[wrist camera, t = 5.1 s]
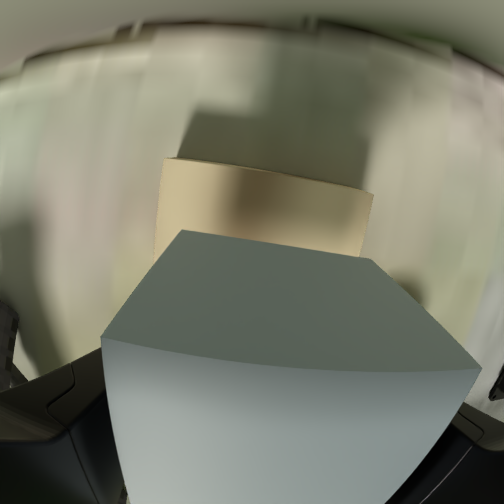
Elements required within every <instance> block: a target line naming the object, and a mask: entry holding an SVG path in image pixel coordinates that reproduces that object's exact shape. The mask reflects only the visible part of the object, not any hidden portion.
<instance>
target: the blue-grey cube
mask: <svg viewBox="0 0 504 504" xmlns="http://www.w3.org/2000/svg"><path fill="white" fill-rule="evenodd" d="M101 348H102V358H103V368H104V376H105V384H106V391H107V398H108V405H109V411H110V417H111V422H112V428H113V433H114V438H115V443H116V448H117V452H118V457H119V461H120V465H121V470H122V474H123V478H124V481H125V485H126V489H127V493H128V496H129V500H130V503H131V504H384V503H385V502H386V501H387V500H388V499H389V498H390V497H391V496H392V495H393V494H394V493H395V492H396V491H397V490H398V488H399V487H400V486H401V485H402V484H403V483H404V482H405V481H406V479H407V478H408V477H409V476H410V475H411V474H412V472H413V471H414V470H415V469H416V468H417V466H418V465H419V464H420V463H421V461H422V460H423V459H424V458H425V456H426V455H427V454H428V452H429V451H430V450H431V448H432V447H433V446H434V444H435V443H436V442H437V440H438V439H439V437H440V436H441V435H442V433H443V432H444V430H445V429H446V427H447V426H448V425H449V423H450V422H451V420H452V419H453V417H454V416H455V414H456V412H457V411H458V409H459V408H460V406H461V405H462V403H463V401H464V400H465V398H466V396H467V395H468V393H469V391H470V390H471V388H472V386H473V384H474V383H475V381H476V379H477V377H478V375H479V374H480V372H481V370H482V367H481V366H480V365H479V364H478V363H477V362H476V361H475V360H474V359H473V357H472V356H471V355H470V354H469V353H468V352H467V351H466V350H465V349H464V348H463V347H462V346H461V345H460V344H459V343H458V342H457V341H456V340H455V339H454V338H453V337H452V336H451V335H450V334H449V333H448V332H447V331H446V330H445V329H444V328H443V327H442V326H441V325H440V324H439V323H438V322H437V321H436V320H435V319H434V318H433V317H432V316H431V315H430V314H429V313H428V312H427V311H426V310H425V309H424V308H423V307H422V306H421V305H420V304H419V303H418V302H417V301H416V300H415V299H414V298H413V297H411V296H410V295H409V294H408V293H407V292H406V291H405V290H404V289H403V288H402V287H401V286H400V285H399V284H398V283H396V282H395V281H394V280H393V279H392V278H391V277H390V276H389V275H388V274H387V273H386V272H385V271H383V270H382V269H381V268H380V267H379V266H378V265H377V264H376V263H375V262H373V261H372V260H371V259H367V258H361V257H355V256H349V255H343V254H337V253H331V252H324V251H318V250H312V249H306V248H299V247H293V246H287V245H281V244H274V243H268V242H261V241H255V240H249V239H242V238H236V237H229V236H222V235H216V234H209V233H203V232H196V231H189V230H183V229H181V231H180V232H179V233H178V234H177V236H176V237H175V238H174V239H173V241H172V242H171V243H170V244H169V246H168V247H167V248H166V249H165V251H164V252H163V253H162V255H161V256H160V257H159V258H158V260H157V261H156V262H155V264H154V265H153V266H152V267H151V269H150V270H149V271H148V273H147V274H146V275H145V277H144V278H143V279H142V281H141V282H140V283H139V284H138V286H137V287H136V288H135V290H134V291H133V292H132V294H131V295H130V297H129V298H128V299H127V301H126V302H125V303H124V305H123V306H122V307H121V309H120V310H119V312H118V313H117V314H116V316H115V317H114V318H113V320H112V321H111V323H110V324H109V325H108V327H107V328H106V330H105V331H104V333H103V334H102V335H101Z"/></svg>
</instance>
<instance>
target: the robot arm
mask: <svg viewBox="0 0 504 504" xmlns="http://www.w3.org/2000/svg"><path fill="white" fill-rule="evenodd" d="M488 398H489V399H490V401H494V400H499V399H503V398H504V370H503V372H502V374H501V376H500V378H499V379H498V381H497V383H496V385H495V386H494V388H493V390H492V391H491V393H490V395H489V397H488ZM124 482H125V481H124V478H123V474H122V470H121V465H120V461H119V457H118V452H117V448H116V443H115V438H114V433H113V428H112V422H111V417H110V411H109V405H108V398H107V391H106V384H105V376H104V368H103V358H102V348H101V347H100V348H98V349H96V350H94V351H92V352H90V353H88V354H86V355H85V356H83V357H81V358H79V359H77V360H75V361H73V362H71V364H70V363H69V364H67V365H65V366H63V367H61V368H59V369H56V370H54V371H52V372H50V373H48V374H46V375H43V376H41V377H38V378H36V379H33V380H31V381H28V382H26V383H23V384H20V385H18V386H15V387H12V388H9V389H6V390H4V391H1V392H0V504H117V502H118V499H119V496H120V493H121V490H122V488H123V485H124ZM384 504H504V423H503V422H501V421H499V420H497V419H495V418H493V417H491V416H489V415H487V414H485V413H483V412H481V411H479V410H477V409H476V408H474V407H472V406H470V405H468V404H467V403H465V402H463V403H462V405H461V406H460V408H459V409H458V411H457V412H456V414H455V416H454V417H453V419H452V420H451V422H450V423H449V425H448V426H447V427H446V429H445V430H444V432H443V433H442V435H441V436H440V437H439V439H438V440H437V442H436V443H435V444H434V446H433V447H432V448H431V450H430V451H429V452H428V454H427V455H426V456H425V458H424V459H423V460H422V461H421V463H420V464H419V465H418V466H417V468H416V469H415V470H414V471H413V472H412V474H411V475H410V476H409V477H408V478H407V479H406V481H405V482H404V483H403V484H402V485H401V486H400V487H399V488H398V490H397V491H396V492H395V493H394V494H393V495H392V496H391V497H390V498H389V499H388V500H387V501H386V502H385V503H384Z"/></svg>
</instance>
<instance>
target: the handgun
mask: <svg viewBox="0 0 504 504" xmlns="http://www.w3.org/2000/svg"><path fill="white" fill-rule="evenodd" d="M18 323H19V317H18V314H17V313H16V312H15V311H13V310H12V309H11V308H9V307H8V306H7V305H5V304H4V303H3V302H1V301H0V392H1V391H4V390H6V389H9V388H10V386H11V388H12V387H15V386H18V385H20V384H23V383H26V382H28V380H27V379H26V378H25V377H24V375H23V374H22V373H21V372H20V371H19V370H18V368H17V367H16V366H15V365H14V364H13V362H12V361H13V354H14V347H15V340H16V334H17V328H18ZM126 500H127V493H126V492H125V491H124V490H121V493H120V496H119V499H118V502H117V504H126Z"/></svg>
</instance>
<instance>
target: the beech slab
mask: <svg viewBox="0 0 504 504" xmlns="http://www.w3.org/2000/svg"><path fill="white" fill-rule="evenodd" d="M373 196H374V195H373V194H371V193H368V192H365V191H362V190H359V189H356V188H352V187H348V186H343V185H339V184H334V183H329V182H324V181H320V180H315V179H310V178H305V177H300V176H294V175H289V174H284V173H278V172H273V171H267V170H261V169H255V168H249V167H243V166H236V165H230V164H223V163H216V162H209V161H201V160H194V159H186V158H177V157H173V158H164V161H163V168H162V176H161V184H160V193H159V201H158V211H157V221H156V232H155V244H154V257H153V265H154V264H155V262H156V261H157V260H158V258H159V257H160V256H161V255H162V253H163V252H164V251H165V249H166V248H167V247H168V246H169V244H170V243H171V242H172V241H173V239H174V238H175V237H176V236H177V234H178V233H179V232H180V231H181V229H183V230H189V231H196V232H203V233H209V234H216V235H222V236H229V237H236V238H242V239H249V240H255V241H261V242H268V243H274V244H281V245H287V246H293V247H299V248H306V249H312V250H318V251H324V252H331V253H337V254H343V255H349V256H355V257H359V255H360V251H361V247H362V243H363V239H364V235H365V231H366V227H367V223H368V219H369V214H370V210H371V205H372V201H373Z"/></svg>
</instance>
